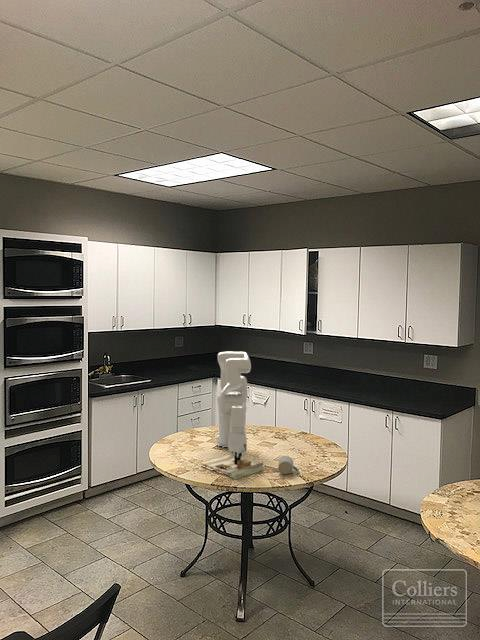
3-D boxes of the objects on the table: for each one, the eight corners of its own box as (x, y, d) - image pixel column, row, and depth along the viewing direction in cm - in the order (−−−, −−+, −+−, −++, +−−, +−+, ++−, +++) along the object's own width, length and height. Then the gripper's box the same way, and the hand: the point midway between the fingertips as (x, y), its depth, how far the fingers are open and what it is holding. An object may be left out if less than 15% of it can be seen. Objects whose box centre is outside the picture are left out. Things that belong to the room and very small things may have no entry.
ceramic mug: (277, 475, 269) (278, 460, 268) (278, 469, 277) (279, 455, 277) (298, 476, 268) (299, 461, 267) (298, 470, 276) (299, 456, 275)
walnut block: (237, 468, 272) (237, 460, 272) (244, 466, 276) (244, 458, 275) (244, 470, 269) (244, 463, 268) (250, 468, 272) (251, 460, 272)
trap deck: (201, 466, 280) (201, 459, 280) (228, 458, 295) (228, 451, 294) (235, 479, 262) (235, 471, 262) (262, 469, 276) (263, 462, 276)
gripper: (222, 427, 277) (222, 462, 278) (243, 433, 266) (242, 469, 267) (232, 425, 282) (232, 459, 283) (253, 430, 272) (252, 466, 273)
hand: (237, 464), depth 275 cm, fingers closed
